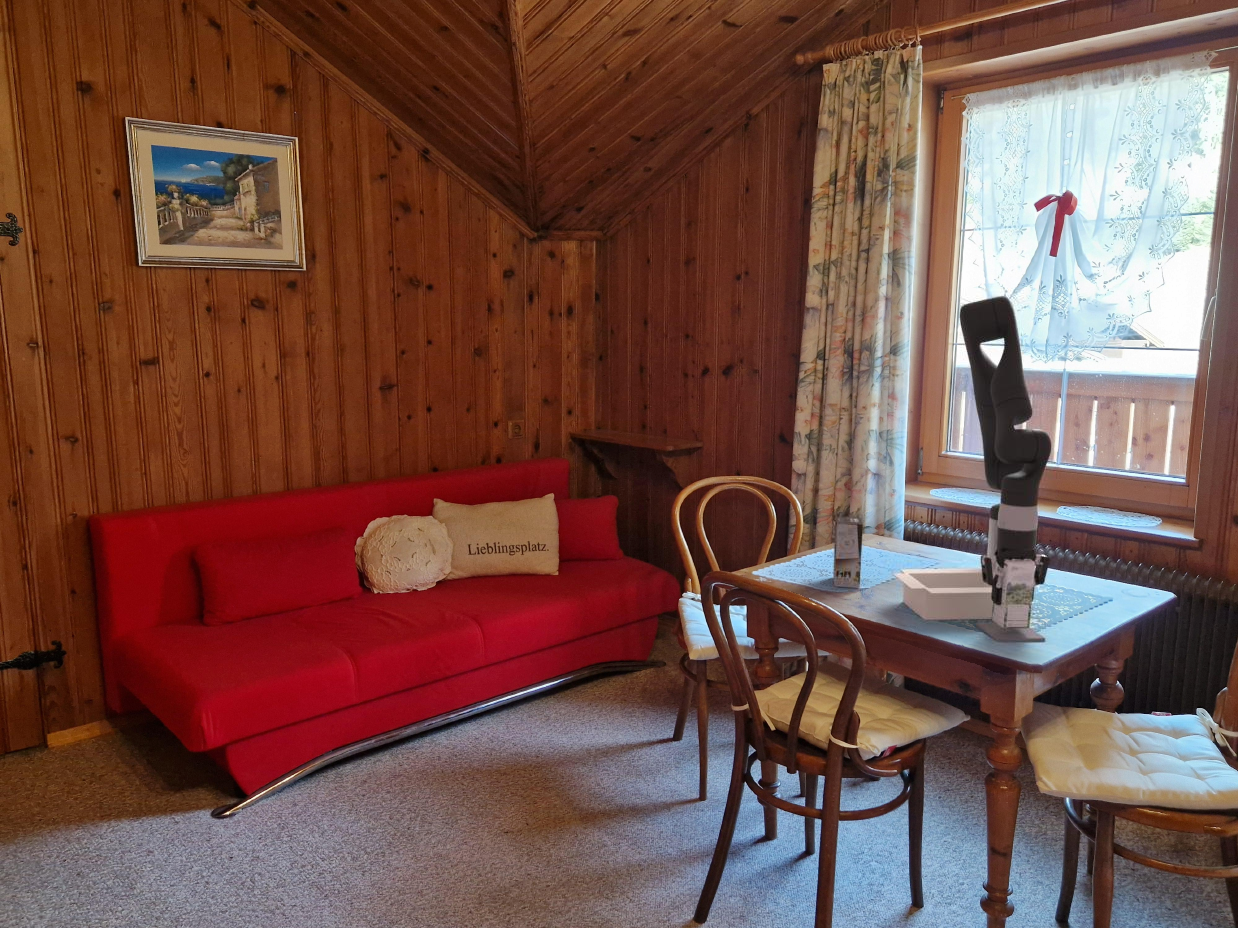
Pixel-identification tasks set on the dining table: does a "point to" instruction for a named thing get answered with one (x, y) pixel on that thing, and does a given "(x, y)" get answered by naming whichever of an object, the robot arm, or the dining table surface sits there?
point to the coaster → (1009, 633)
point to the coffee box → (847, 551)
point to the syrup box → (1015, 594)
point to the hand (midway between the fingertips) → (1011, 603)
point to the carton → (947, 593)
